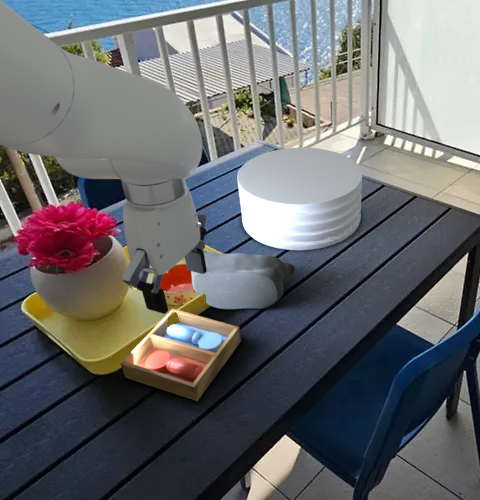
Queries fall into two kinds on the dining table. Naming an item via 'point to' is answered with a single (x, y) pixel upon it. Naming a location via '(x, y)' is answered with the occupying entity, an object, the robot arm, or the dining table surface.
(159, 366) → the red knob peg
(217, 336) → the blue disc-ended peg
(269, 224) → the plate stack
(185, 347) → the caddy
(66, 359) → the dining table surface
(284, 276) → the rock
